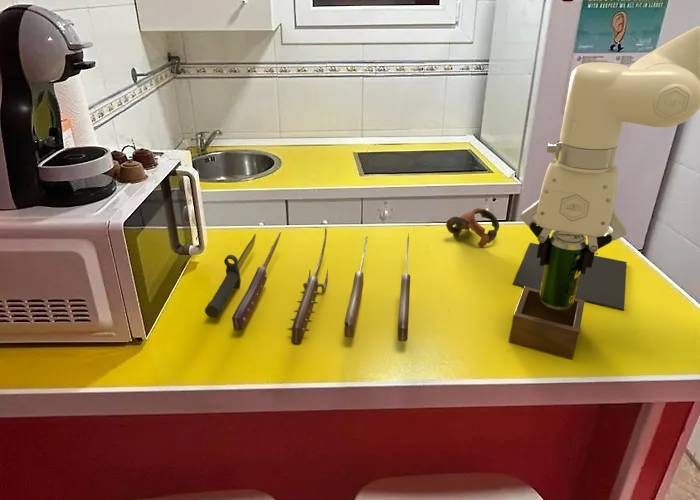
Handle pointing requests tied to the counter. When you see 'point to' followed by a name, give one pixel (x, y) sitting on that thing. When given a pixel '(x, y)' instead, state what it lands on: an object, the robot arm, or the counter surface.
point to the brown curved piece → (474, 225)
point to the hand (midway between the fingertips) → (563, 265)
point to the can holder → (546, 325)
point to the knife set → (309, 295)
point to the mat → (581, 279)
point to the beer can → (562, 270)
